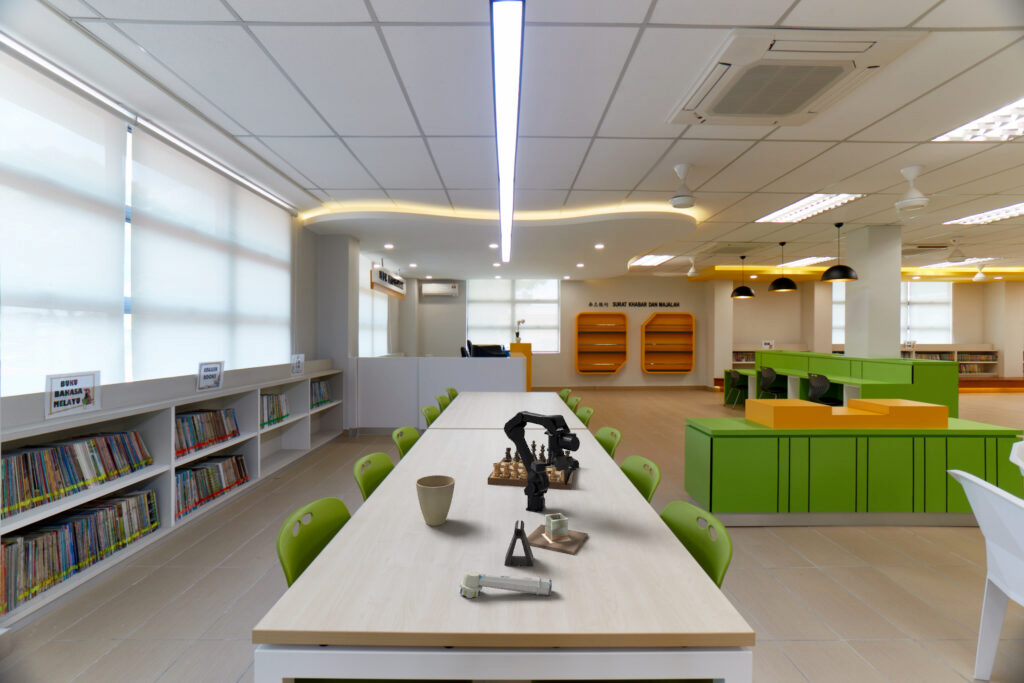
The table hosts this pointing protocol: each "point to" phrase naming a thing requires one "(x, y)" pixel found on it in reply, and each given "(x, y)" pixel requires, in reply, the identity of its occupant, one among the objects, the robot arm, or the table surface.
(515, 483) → the chess set
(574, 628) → the table surface
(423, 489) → the plant pot
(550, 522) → the sleeve
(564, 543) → the pin board
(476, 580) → the toothbrush head
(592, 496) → the table surface
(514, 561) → the phone stand
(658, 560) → the table surface
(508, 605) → the table surface
